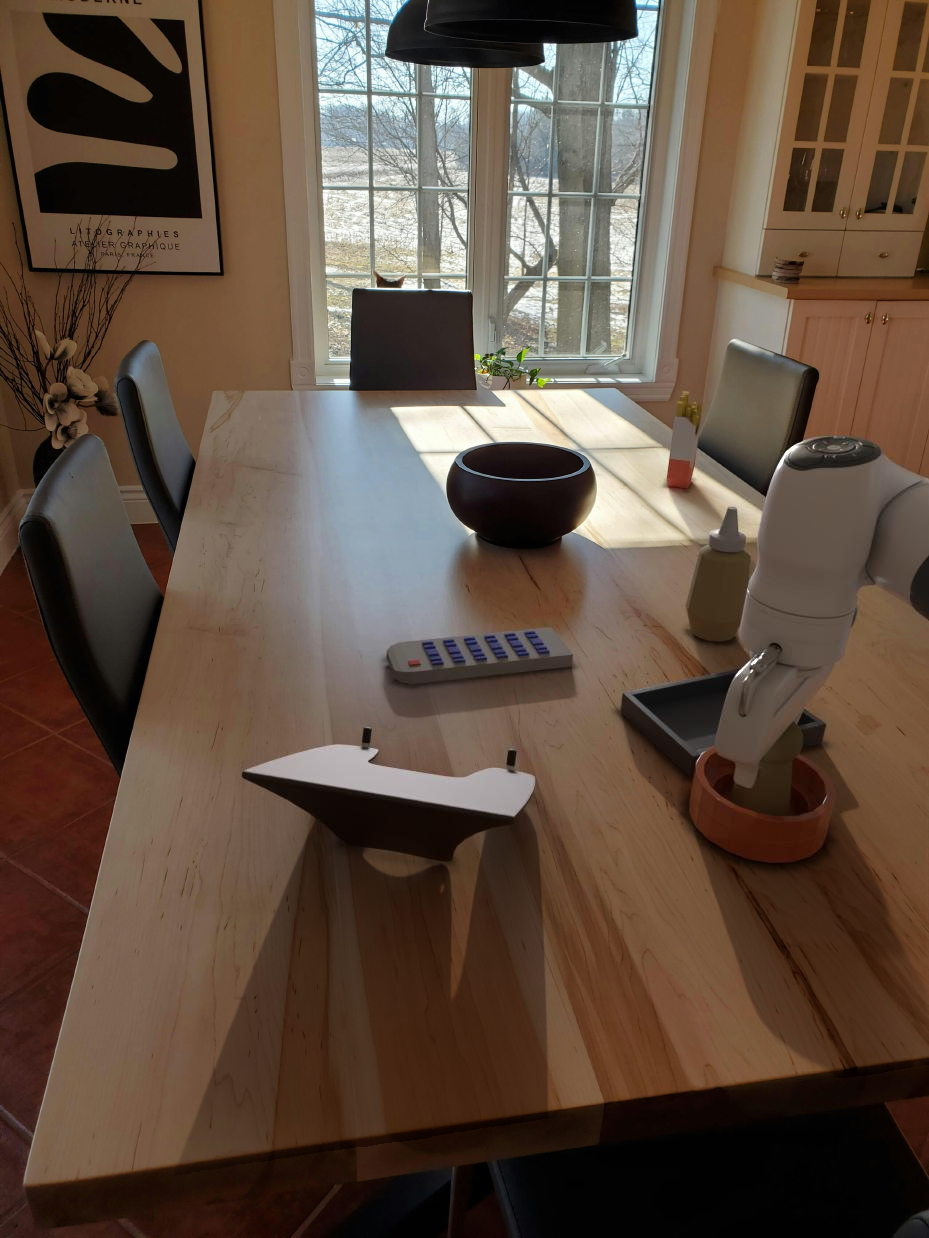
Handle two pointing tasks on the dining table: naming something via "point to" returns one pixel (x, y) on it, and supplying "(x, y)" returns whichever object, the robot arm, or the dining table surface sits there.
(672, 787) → the dining table surface
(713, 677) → the tray
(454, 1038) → the dining table surface
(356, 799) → the laptop tray
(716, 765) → the bowl
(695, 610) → the squeeze bottle
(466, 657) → the remote control
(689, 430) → the french fries container
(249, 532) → the dining table surface
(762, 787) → the olive green bottle
